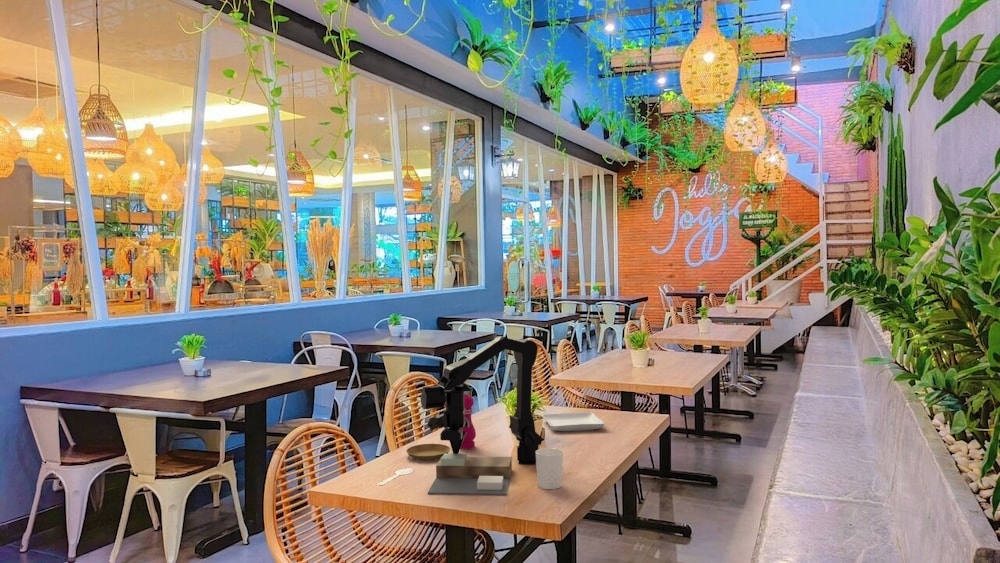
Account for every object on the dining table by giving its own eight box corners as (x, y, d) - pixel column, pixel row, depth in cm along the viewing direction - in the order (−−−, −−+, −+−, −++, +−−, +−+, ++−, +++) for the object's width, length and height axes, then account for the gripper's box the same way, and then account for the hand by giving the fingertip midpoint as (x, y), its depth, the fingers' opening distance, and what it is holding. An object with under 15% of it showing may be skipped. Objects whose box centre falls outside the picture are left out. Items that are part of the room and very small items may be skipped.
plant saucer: (434, 465, 220) (434, 457, 220) (397, 460, 227) (397, 452, 227) (458, 454, 233) (458, 446, 233) (423, 449, 240) (423, 441, 240)
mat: (509, 480, 203) (509, 478, 203) (505, 495, 190) (505, 493, 190) (436, 479, 205) (436, 477, 205) (427, 494, 192) (427, 492, 192)
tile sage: (466, 460, 211) (466, 453, 211) (464, 465, 205) (464, 459, 205) (444, 459, 211) (444, 453, 211) (441, 465, 205) (440, 459, 205)
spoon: (370, 485, 201) (370, 483, 201) (403, 468, 218) (403, 466, 218) (386, 487, 199) (386, 485, 199) (418, 470, 215) (418, 468, 215)
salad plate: (541, 421, 279) (541, 413, 279) (592, 419, 281) (592, 411, 281) (550, 434, 258) (550, 425, 258) (605, 432, 260) (605, 423, 260)
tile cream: (501, 482, 193) (501, 489, 193) (503, 476, 199) (503, 482, 199) (477, 482, 194) (477, 489, 194) (479, 475, 200) (479, 482, 200)
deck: (511, 469, 213) (511, 457, 213) (509, 479, 203) (509, 466, 203) (442, 469, 215) (441, 456, 215) (436, 479, 205) (436, 465, 205)
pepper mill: (452, 448, 239) (451, 391, 238) (460, 443, 245) (460, 388, 245) (470, 450, 236) (469, 392, 235) (479, 445, 243) (478, 389, 242)
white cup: (555, 492, 192) (555, 456, 192) (531, 487, 196) (530, 453, 196) (568, 484, 199) (567, 450, 198) (544, 480, 203) (543, 446, 202)
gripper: (435, 399, 221) (435, 447, 222) (423, 412, 203) (423, 464, 203) (469, 400, 220) (469, 448, 221) (460, 412, 202) (461, 465, 202)
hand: (455, 456), depth 212 cm, fingers closed
